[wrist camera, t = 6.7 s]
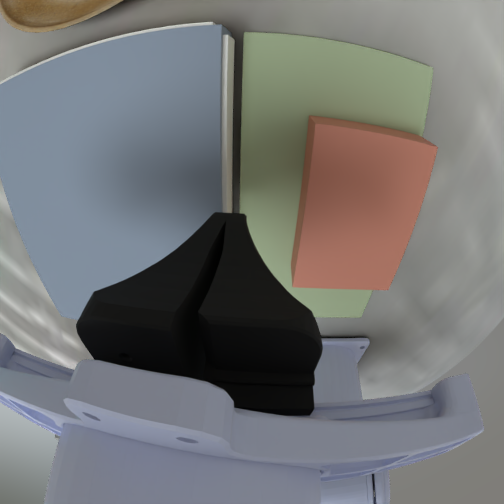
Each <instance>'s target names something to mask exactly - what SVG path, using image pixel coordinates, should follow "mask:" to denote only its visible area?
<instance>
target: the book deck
mask: <svg viewBox="0 0 504 504" xmlns="http://www.w3.org/2000/svg"><path fill="white" fill-rule="evenodd" d="M231 34H232V33H231V32H230V31H228V30H227V29H226V28H225V27H224V26H223V25H222V24H220V25H216V24H215V23H214V22H203V23H191V24H182V25H174V26H166V27H160V28H154V29H148V30H143V31H138V32H133V33H128V34H124V35H120V36H116V37H112V38H108V39H104V40H101V41H97V42H94V43H91V44H87V45H84V46H81V47H78V48H75V49H73V50H70V51H67V52H64V53H62V54H59V55H56V56H54V57H51V58H49V59H47V60H44V61H42V62H40V63H37V64H35V65H33V66H31V67H29V68H27V69H25V70H23V71H21V72H19V73H17V74H15V75H13V76H11V77H9V78H7V79H5V80H3V81H2V82H0V177H1V181H2V184H3V187H4V191H5V194H6V197H7V200H8V203H9V206H10V209H11V212H12V215H13V217H14V220H15V223H16V225H17V228H18V230H19V233H20V235H21V238H22V240H23V242H24V245H25V247H26V249H27V252H28V254H29V256H30V258H31V260H32V263H33V265H34V267H35V269H36V271H37V273H38V275H39V277H40V279H41V281H42V283H43V285H44V286H45V288H46V290H47V292H48V294H49V296H50V297H51V299H52V301H53V303H54V304H55V306H56V308H57V310H58V311H59V313H60V315H61V316H63V317H67V318H71V319H76V320H78V319H79V318H80V316H81V314H82V312H83V310H84V308H85V306H86V304H87V302H88V301H89V299H90V297H91V295H92V294H93V292H94V291H97V290H100V289H102V288H105V287H108V286H110V285H113V284H116V283H118V282H120V281H123V280H125V279H127V278H129V277H131V276H133V275H135V274H137V273H139V272H141V271H143V270H145V269H146V268H148V267H150V266H151V265H153V264H155V263H157V262H158V261H160V260H161V259H163V258H164V257H166V256H167V255H169V254H170V253H171V252H173V251H174V250H175V249H177V248H178V247H179V246H180V245H181V244H182V243H184V242H185V241H186V240H187V239H188V238H189V237H190V236H191V235H192V234H194V233H195V232H196V231H197V230H198V229H199V228H200V227H201V226H202V225H203V224H204V223H205V222H206V220H207V219H208V218H209V217H210V216H211V215H212V214H213V213H215V212H222V213H232V152H233V84H234V46H235V40H234V39H233V38H232V37H231Z"/></svg>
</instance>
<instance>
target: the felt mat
mask: <svg viewBox="0 0 504 504" xmlns="http://www.w3.org/2000/svg"><path fill="white" fill-rule="evenodd" d="M432 76H433V68H432V67H429V66H427V65H424V64H421V63H418V62H416V61H413V60H410V59H407V58H404V57H400V56H397V55H394V54H390V53H387V52H383V51H380V50H376V49H372V48H368V47H364V46H359V45H355V44H350V43H345V42H340V41H335V40H329V39H322V38H316V37H308V36H300V35H290V34H277V33H258V32H244V45H243V76H242V112H241V158H240V213H243V214H245V215H246V216H247V225H248V229H249V232H250V235H251V237H252V240H253V242H254V244H255V246H256V248H257V250H258V252H259V254H260V256H261V258H262V259H263V261H264V262H265V264H266V265H267V267H268V268H269V270H270V271H271V272H272V274H273V275H274V276H275V278H276V279H277V280H278V281H279V282H280V283H281V284H282V285H283V286H284V288H285V289H286V290H287V291H288V292H289V293H290V294H291V295H292V296H293V297H295V298H296V299H297V300H298V301H300V302H301V303H302V304H304V305H305V306H306V307H307V308H309V309H310V310H311V311H312V313H313V315H314V317H336V318H361V316H362V314H363V312H364V310H365V308H366V305H367V303H368V301H369V299H370V296H371V294H372V292H373V290H356V289H322V288H297V287H292V275H291V259H292V252H293V245H294V238H295V231H296V224H297V216H298V208H299V201H300V193H301V184H302V176H303V167H304V158H305V149H306V140H307V130H308V119H309V115H311V116H320V117H327V118H335V119H342V120H348V121H354V122H360V123H366V124H371V125H376V126H381V127H386V128H391V129H395V130H399V131H404V132H408V133H412V134H416V135H419V136H421V137H422V136H423V131H424V126H425V121H426V116H427V110H428V104H429V98H430V91H431V84H432Z"/></svg>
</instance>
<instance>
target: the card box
mask: <svg viewBox="0 0 504 504" xmlns="http://www.w3.org/2000/svg"><path fill="white" fill-rule="evenodd" d="M437 149H438V147H437V146H435V145H434V144H432V143H431V142H429V141H427V140H426V139H424V138H423V137H421V136H419V135H416V134H412V133H408V132H404V131H399V130H395V129H391V128H386V127H381V126H376V125H371V124H366V123H360V122H354V121H348V120H342V119H335V118H327V117H320V116H311V115H309V119H308V130H307V140H306V149H305V158H304V167H303V176H302V184H301V193H300V201H299V208H298V216H297V224H296V231H295V238H294V245H293V252H292V259H291V275H292V287H297V288H322V289H356V290H388V289H389V287H390V285H391V283H392V281H393V278H394V276H395V274H396V271H397V269H398V267H399V264H400V262H401V260H402V257H403V255H404V252H405V250H406V247H407V245H408V242H409V239H410V237H411V234H412V231H413V229H414V226H415V223H416V220H417V217H418V214H419V212H420V209H421V206H422V202H423V199H424V196H425V193H426V190H427V186H428V183H429V179H430V176H431V172H432V169H433V165H434V161H435V157H436V153H437Z"/></svg>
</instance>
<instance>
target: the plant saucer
mask: <svg viewBox="0 0 504 504" xmlns="http://www.w3.org/2000/svg"><path fill="white" fill-rule="evenodd" d="M122 1H123V0H0V13H1V15H2V16H3V18H4V19H5V20H6V21H7V23H8V24H10V25H11V26H12V27H14V28H16V29H19V30H22V31H26V32H35V33H36V32H48V31H53V30H58V29H62V28H65V27H69V26H72V25H74V24H77V23H80V22H82V21H85V20H87V19H89V18H91V17H93V16H96V15H98V14H100V13H101V12H103V11H106V10H107V9H109V8H111V7H113V6H115V5H116V4H118V3H120V2H122Z"/></svg>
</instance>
